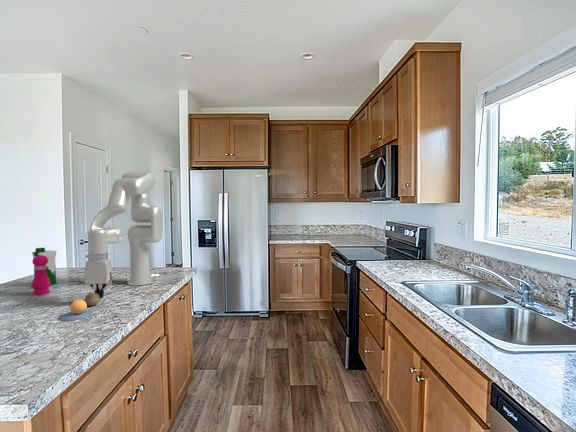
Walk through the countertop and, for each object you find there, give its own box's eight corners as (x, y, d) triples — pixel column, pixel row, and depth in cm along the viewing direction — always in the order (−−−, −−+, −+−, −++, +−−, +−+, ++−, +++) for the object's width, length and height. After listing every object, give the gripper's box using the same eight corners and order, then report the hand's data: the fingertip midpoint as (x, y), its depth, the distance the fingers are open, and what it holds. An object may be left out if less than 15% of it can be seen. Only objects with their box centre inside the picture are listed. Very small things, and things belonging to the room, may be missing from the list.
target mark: (88, 309, 133) (88, 308, 133) (95, 315, 125) (95, 315, 125) (55, 315, 125) (55, 315, 125) (60, 323, 117) (60, 322, 117)
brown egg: (88, 292, 134) (87, 306, 133) (102, 292, 138) (101, 305, 137) (83, 292, 137) (81, 306, 136) (97, 292, 142) (95, 305, 140)
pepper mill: (40, 296, 152) (39, 253, 151) (27, 295, 153) (26, 253, 153) (54, 291, 159) (53, 251, 158) (42, 291, 160) (41, 251, 160)
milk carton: (30, 286, 170) (29, 248, 170) (48, 282, 179) (47, 246, 178) (42, 287, 168) (41, 249, 167) (59, 283, 176) (58, 246, 175)
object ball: (82, 294, 129) (74, 300, 124) (92, 304, 130) (84, 310, 125) (72, 303, 129) (63, 309, 124) (82, 312, 130) (74, 319, 125)
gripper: (75, 258, 138) (76, 301, 139) (111, 258, 139) (112, 300, 140) (85, 256, 145) (86, 296, 146) (119, 255, 146) (120, 295, 147)
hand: (99, 298), depth 143 cm, fingers closed
